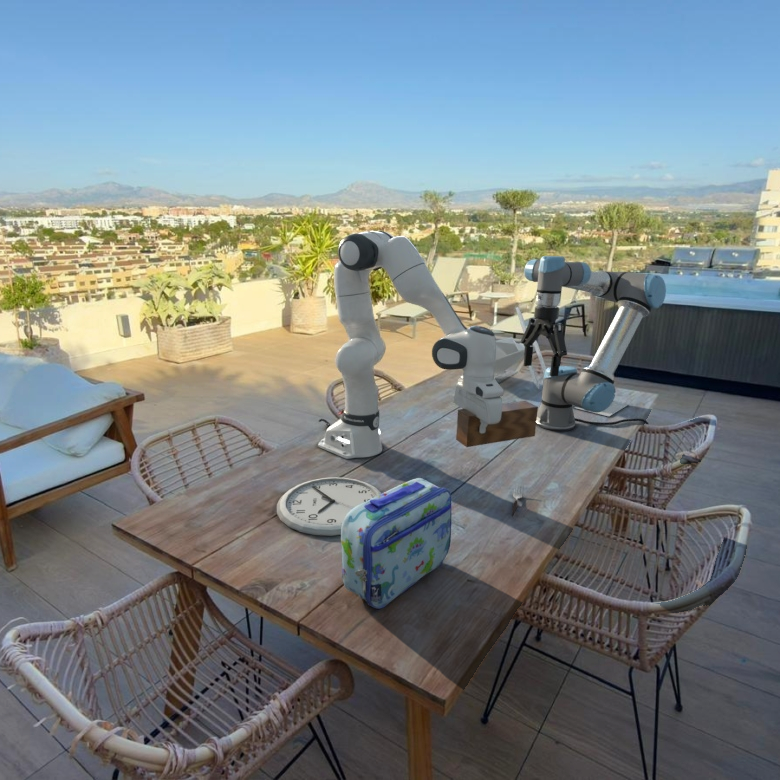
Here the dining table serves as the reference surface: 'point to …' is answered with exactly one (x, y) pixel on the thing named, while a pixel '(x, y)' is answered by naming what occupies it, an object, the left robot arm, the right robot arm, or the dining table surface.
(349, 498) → the wall clock
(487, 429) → the box
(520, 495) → the fork
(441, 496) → the lunch box
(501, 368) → the white plastic object
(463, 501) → the dining table surface
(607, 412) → the invitation card
